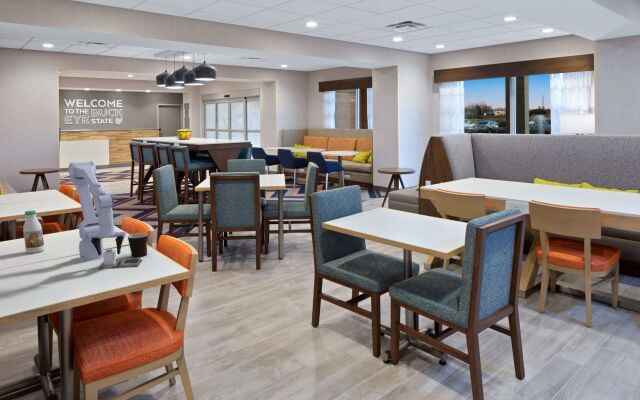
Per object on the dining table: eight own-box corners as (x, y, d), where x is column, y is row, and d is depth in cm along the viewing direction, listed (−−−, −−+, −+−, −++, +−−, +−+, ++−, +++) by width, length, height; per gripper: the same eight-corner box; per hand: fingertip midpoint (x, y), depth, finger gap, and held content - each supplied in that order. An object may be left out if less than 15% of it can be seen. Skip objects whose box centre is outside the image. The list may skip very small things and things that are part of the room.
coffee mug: (142, 259, 207) (140, 238, 205) (125, 259, 209) (123, 237, 207) (156, 252, 218) (155, 231, 216) (140, 251, 220) (138, 231, 218)
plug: (104, 266, 196) (102, 251, 195) (107, 264, 200) (105, 248, 199) (114, 266, 197) (112, 250, 195) (116, 263, 200) (115, 247, 199)
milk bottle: (22, 252, 222) (16, 212, 218) (37, 248, 229) (32, 209, 225) (33, 254, 219) (28, 213, 215) (48, 250, 226) (43, 210, 222)
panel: (97, 270, 193) (97, 266, 193) (104, 263, 203) (104, 259, 202) (137, 268, 195) (137, 264, 195) (142, 261, 205) (142, 257, 205)
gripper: (84, 226, 190) (88, 258, 192) (121, 224, 192) (125, 255, 194) (90, 222, 197) (93, 253, 199) (126, 220, 199) (129, 251, 201)
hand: (109, 254), depth 197 cm, fingers open, 7 cm apart
